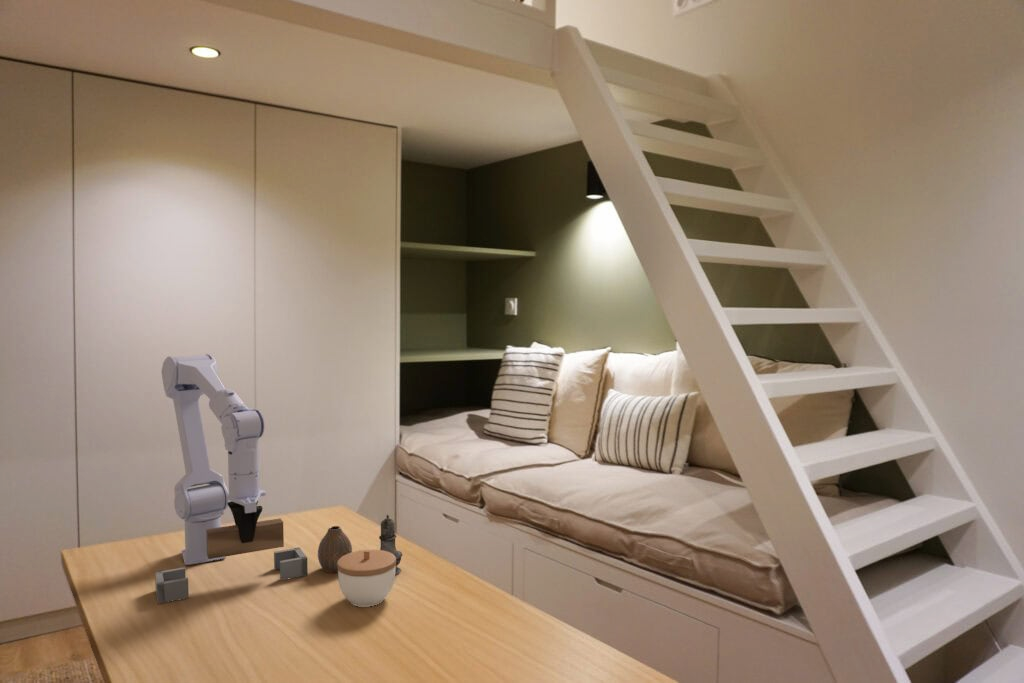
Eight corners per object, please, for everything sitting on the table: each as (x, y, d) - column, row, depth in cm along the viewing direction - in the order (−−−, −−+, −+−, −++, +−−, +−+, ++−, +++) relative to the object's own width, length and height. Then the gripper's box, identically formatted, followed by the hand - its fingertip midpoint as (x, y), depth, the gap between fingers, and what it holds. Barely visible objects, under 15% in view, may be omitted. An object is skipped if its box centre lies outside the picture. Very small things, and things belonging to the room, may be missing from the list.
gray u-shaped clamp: (155, 590, 134) (155, 572, 134) (185, 585, 136) (184, 567, 136) (157, 604, 128) (157, 585, 128) (188, 598, 130) (188, 579, 130)
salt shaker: (407, 568, 145) (407, 511, 144) (394, 579, 139) (393, 520, 139) (382, 565, 147) (382, 509, 146) (368, 575, 141) (367, 517, 140)
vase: (356, 563, 148) (356, 522, 147) (345, 576, 141) (345, 533, 140) (325, 562, 148) (324, 521, 148) (312, 575, 142) (312, 532, 141)
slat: (206, 554, 136) (206, 529, 136) (280, 542, 143) (280, 518, 143) (208, 559, 134) (207, 533, 133) (283, 546, 141) (283, 522, 140)
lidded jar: (407, 594, 132) (407, 545, 132) (373, 617, 122) (373, 565, 122) (361, 584, 137) (361, 537, 136) (325, 606, 127) (324, 556, 126)
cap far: (274, 568, 145) (273, 551, 145) (299, 564, 147) (299, 547, 147) (281, 580, 139) (280, 562, 139) (307, 575, 141) (307, 557, 141)
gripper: (272, 477, 133) (273, 546, 134) (258, 462, 146) (260, 525, 147) (232, 481, 130) (234, 553, 131) (222, 466, 142) (224, 531, 143)
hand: (245, 539), depth 138 cm, fingers closed on slat, 3 cm apart
